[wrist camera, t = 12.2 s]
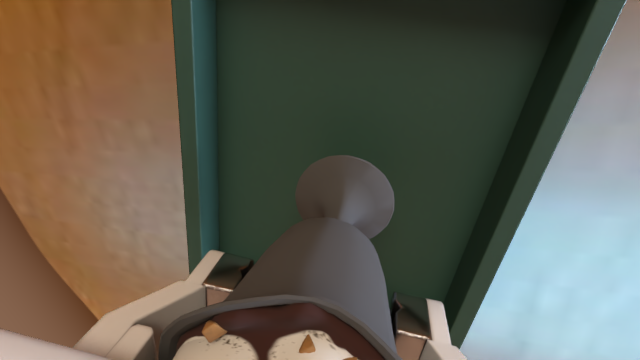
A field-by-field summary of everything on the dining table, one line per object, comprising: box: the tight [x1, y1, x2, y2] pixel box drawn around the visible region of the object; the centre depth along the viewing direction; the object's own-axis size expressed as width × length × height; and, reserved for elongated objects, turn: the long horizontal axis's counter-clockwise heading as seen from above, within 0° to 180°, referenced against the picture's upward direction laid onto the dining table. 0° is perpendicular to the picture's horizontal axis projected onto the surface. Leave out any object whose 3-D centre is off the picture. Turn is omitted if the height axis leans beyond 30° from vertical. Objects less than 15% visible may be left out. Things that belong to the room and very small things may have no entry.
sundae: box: [158, 155, 402, 360], centre depth 10 cm, size 7×7×15 cm
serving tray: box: [171, 0, 627, 349], centre depth 19 cm, size 22×18×3 cm
